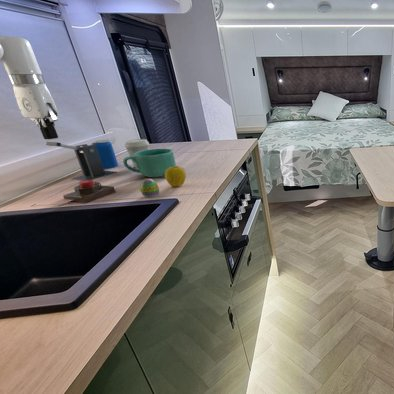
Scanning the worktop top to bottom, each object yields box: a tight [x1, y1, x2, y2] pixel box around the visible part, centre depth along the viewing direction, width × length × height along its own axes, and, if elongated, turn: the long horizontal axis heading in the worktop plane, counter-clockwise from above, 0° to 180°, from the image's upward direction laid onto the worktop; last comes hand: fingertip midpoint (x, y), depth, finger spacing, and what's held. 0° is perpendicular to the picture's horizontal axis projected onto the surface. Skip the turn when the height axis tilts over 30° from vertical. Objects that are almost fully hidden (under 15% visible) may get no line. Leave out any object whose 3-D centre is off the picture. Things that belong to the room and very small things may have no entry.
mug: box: [122, 148, 177, 179], centre depth 113 cm, size 17×13×10 cm
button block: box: [62, 181, 117, 205], centre depth 94 cm, size 10×8×4 cm
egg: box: [139, 178, 160, 199], centre depth 93 cm, size 5×5×6 cm
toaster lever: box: [45, 141, 83, 153], centre depth 105 cm, size 12×5×2 cm, turn 166°
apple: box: [164, 165, 187, 187], centre depth 102 cm, size 6×6×8 cm
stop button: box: [78, 179, 95, 188], centre depth 93 cm, size 4×4×2 cm
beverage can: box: [91, 139, 119, 170], centre depth 123 cm, size 6×6×12 cm
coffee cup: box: [124, 138, 150, 169], centre depth 123 cm, size 9×8×12 cm
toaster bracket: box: [70, 143, 118, 181], centre depth 111 cm, size 11×9×13 cm
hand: (51, 138), depth 99 cm, fingers closed
